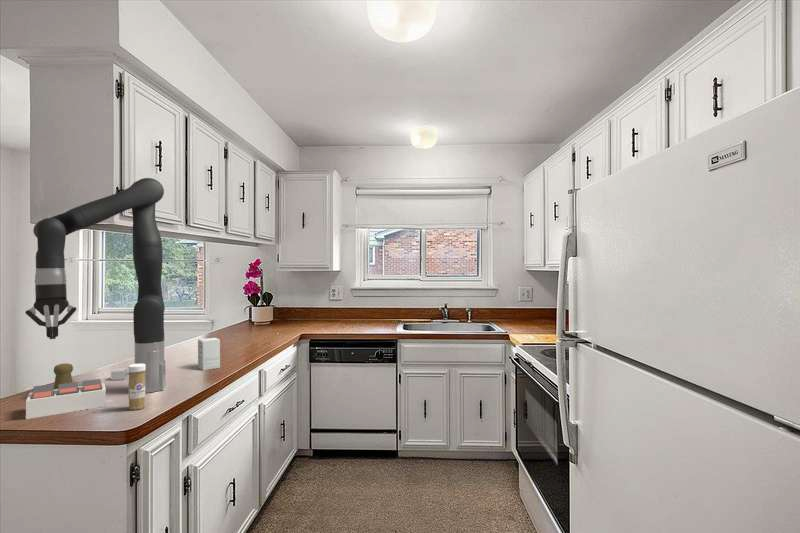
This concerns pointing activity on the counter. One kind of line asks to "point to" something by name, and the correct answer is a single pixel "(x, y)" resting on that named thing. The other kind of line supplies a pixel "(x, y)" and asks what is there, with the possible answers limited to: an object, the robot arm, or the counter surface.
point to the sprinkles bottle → (136, 386)
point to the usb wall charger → (119, 374)
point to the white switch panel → (65, 402)
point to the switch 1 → (43, 391)
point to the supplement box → (208, 353)
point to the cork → (62, 374)
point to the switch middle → (68, 388)
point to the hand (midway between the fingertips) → (52, 338)
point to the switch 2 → (91, 385)
